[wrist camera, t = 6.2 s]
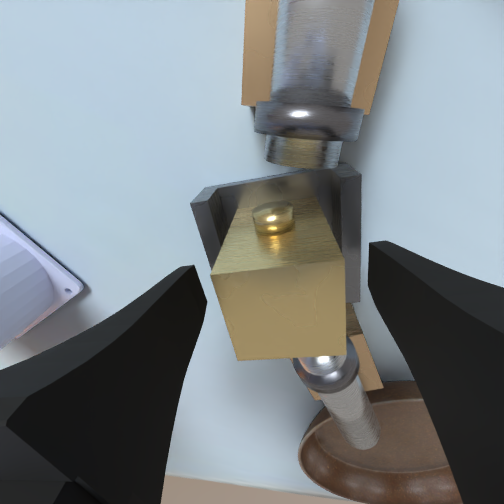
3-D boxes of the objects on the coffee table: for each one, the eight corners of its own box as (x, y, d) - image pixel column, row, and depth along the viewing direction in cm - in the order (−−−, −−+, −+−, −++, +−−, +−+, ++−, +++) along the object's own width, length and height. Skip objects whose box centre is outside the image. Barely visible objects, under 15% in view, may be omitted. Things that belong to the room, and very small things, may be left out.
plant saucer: (277, 453, 27) (277, 490, 24) (329, 342, 18) (338, 381, 16) (438, 482, 27) (455, 523, 24) (565, 386, 18) (614, 433, 16)
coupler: (321, 277, 15) (346, 369, 9) (254, 284, 15) (242, 373, 10) (314, 180, 12) (344, 234, 7) (233, 194, 13) (202, 252, 7)
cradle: (347, 273, 15) (359, 301, 13) (232, 285, 16) (225, 313, 14) (345, 162, 12) (361, 174, 10) (205, 187, 13) (190, 203, 11)
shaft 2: (276, 302, 17) (276, 382, 12) (343, 281, 15) (373, 361, 10) (316, 375, 20) (329, 461, 15) (374, 363, 19) (409, 453, 14)
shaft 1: (340, 150, 12) (385, 177, 7) (247, 142, 12) (226, 164, 7) (402, -125, 8) (611, -516, 3) (262, -130, 8) (238, -506, 3)
